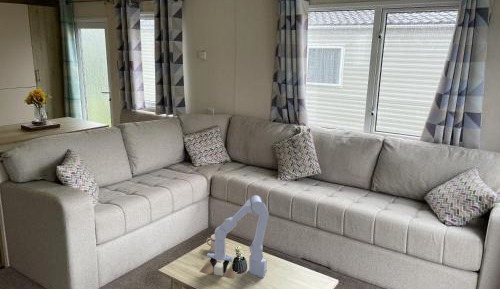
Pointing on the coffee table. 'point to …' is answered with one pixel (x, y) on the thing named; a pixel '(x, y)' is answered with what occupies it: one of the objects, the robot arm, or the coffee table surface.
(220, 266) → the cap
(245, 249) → the coffee table surface
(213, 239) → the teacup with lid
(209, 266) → the board
